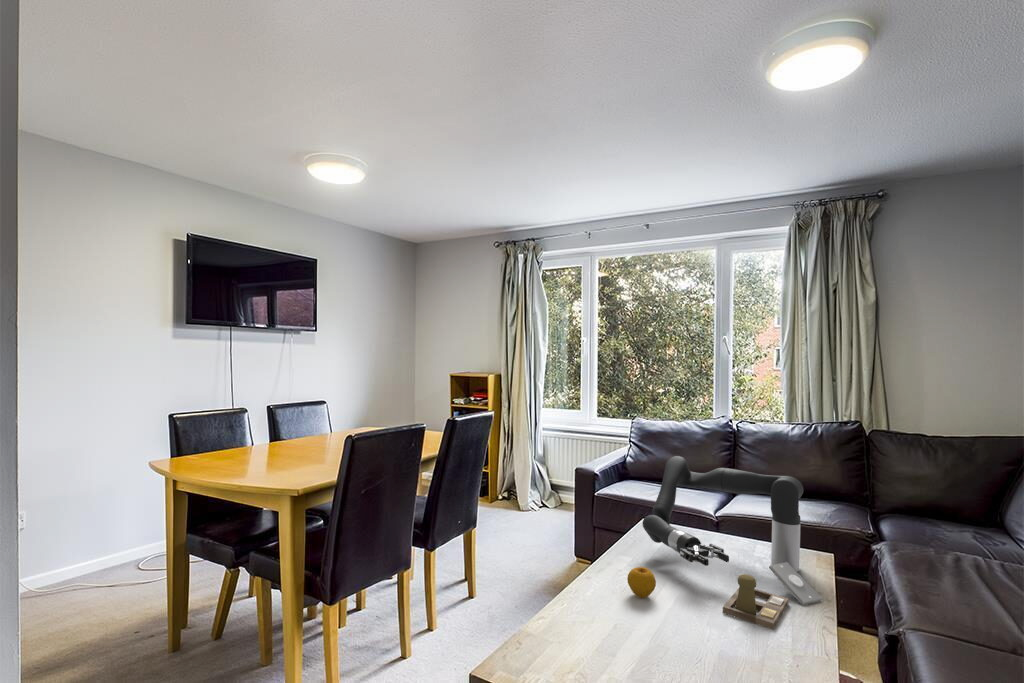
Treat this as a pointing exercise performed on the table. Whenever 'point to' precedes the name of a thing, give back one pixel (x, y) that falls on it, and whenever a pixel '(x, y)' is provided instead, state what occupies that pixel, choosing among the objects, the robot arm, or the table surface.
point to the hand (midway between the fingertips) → (717, 560)
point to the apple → (641, 581)
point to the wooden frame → (759, 609)
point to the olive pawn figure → (746, 594)
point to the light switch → (795, 583)
